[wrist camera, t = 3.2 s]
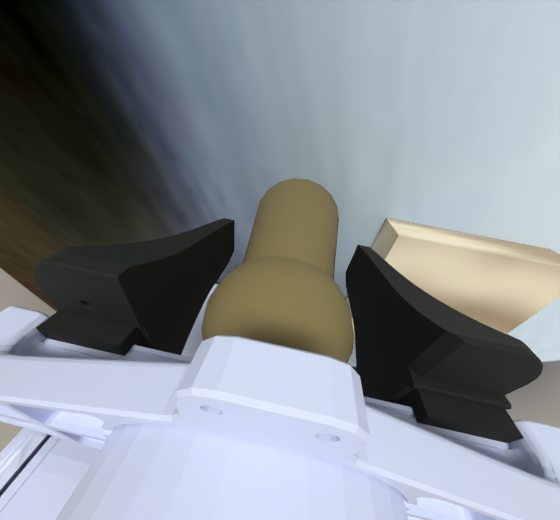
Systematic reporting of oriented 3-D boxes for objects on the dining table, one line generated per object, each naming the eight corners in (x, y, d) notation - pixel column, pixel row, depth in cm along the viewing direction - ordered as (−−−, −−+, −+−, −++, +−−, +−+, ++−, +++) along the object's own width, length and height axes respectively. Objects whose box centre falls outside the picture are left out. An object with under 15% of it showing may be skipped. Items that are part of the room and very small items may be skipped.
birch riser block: (445, 340, 20) (460, 366, 18) (336, 318, 20) (339, 340, 18) (550, 249, 13) (592, 272, 11) (386, 218, 14) (398, 235, 12)
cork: (307, 266, 17) (300, 428, 8) (244, 231, 16) (154, 374, 7) (357, 209, 13) (439, 379, 5) (281, 159, 12) (195, 257, 4)
